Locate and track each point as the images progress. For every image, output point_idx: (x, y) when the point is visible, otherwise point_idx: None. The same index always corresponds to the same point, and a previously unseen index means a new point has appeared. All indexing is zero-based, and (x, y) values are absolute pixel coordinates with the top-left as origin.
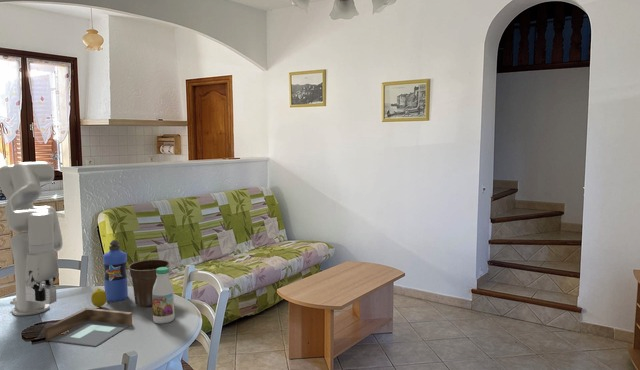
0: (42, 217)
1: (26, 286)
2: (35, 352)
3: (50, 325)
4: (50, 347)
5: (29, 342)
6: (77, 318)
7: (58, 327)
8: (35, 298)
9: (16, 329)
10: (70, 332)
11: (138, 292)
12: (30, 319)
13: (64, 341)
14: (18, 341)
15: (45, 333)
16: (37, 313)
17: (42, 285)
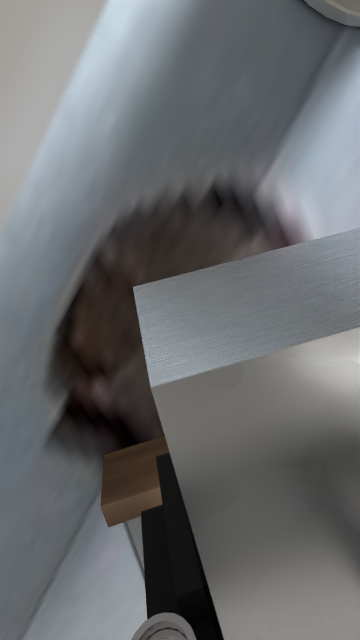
0: None
1: (157, 404)
2: (4, 534)
3: (138, 498)
4: (73, 534)
5: (47, 412)
6: None
7: None
8: (159, 473)
9: (106, 164)
10: None
11: None
12: (249, 75)
13: (136, 538)
14: (19, 353)
15: (102, 482)
16: (333, 19)
17: (339, 617)
